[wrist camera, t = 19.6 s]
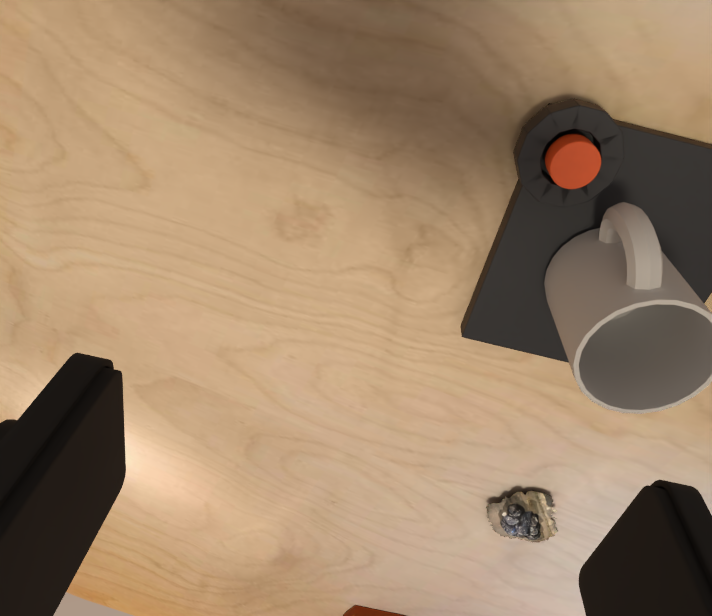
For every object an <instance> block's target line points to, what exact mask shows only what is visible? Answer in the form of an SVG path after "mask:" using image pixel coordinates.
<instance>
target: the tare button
mask: <svg viewBox="0 0 712 616" xmlns="http://www.w3.org/2000/svg"><path fill="white" fill-rule="evenodd" d="M545 165H546V169H547V171H548V172H549V174H550V176H551V178H552V179H553V181H554V182H555V183H556V184H557V185H558V186H560V187H562V188H565V189H577V188H581V187H583V186H585V185H587V184H589V183H590V182H591V181H592V180H593V179H594V178H595V177H596V176H597V174H598V172H599V170H600V167H601V155H600V153H599V151H598V149H597V148H596V147H595V146H594V145H593V143H592V142H591V141H590V140H589V139H588V138H586V137H585V136H583V135H580V134H567V135H564V136H562V137H560V138H558V139H557V140H555V141H554V142H553V143H552V144H551V145H550V147H549V148H548V150H547V153H546V156H545Z"/></svg>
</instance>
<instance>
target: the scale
mask: <svg viewBox="0 0 712 616" xmlns="http://www.w3.org/2000/svg"><path fill="white" fill-rule="evenodd" d="M567 134H580V135H583V136H585V137H586V138H588V139H589V140H590V141H591V142H592V143H593V145H594V146H595V147H596V148H597V149H598V151H599V153H600V155H601V167H600V170H599V172H598V174H597V176H596V177H595V178H594V179H593V180H592V181H591V182H590V183H589V184H587V185H585V186H583V187H581V188H577V189H565V188H562V187H560V186H558V185H557V184H556V183H555V182H554V181H553V179H552V178H551V176H550V174H549V172H548V171H547V169H546V165H545V156H546V153H547V150H548V148H549V147H550V145H551V144H552V143H553V142H554V141H555V140H557V139H558V138H560V137H562V136H564V135H567ZM514 158H515V164H516V170H517V175H518V177H519V180H518V182H517V185H516V187H515V190H514V192H513V195H512V197H511V200H510V202H509V205H508V208H507V210H506V213H505V215H504V218H503V220H502V223H501V225H500V228H499V230H498V233H497V235H496V238H495V240H494V243H493V246H492V248H491V251H490V253H489V256H488V258H487V261H486V263H485V266H484V268H483V271H482V273H481V276H480V278H479V281H478V283H477V286H476V289H475V291H474V294H473V296H472V299H471V301H470V304H469V306H468V309H467V311H466V314H465V316H464V319H463V321H462V324H461V333H462V337H464V338H468V339H472V340H477V341H481V342H485V343H489V344H493V345H498V346H502V347H506V348H510V349H514V350H518V351H523V352H527V353H531V354H535V355H539V356H544V357H548V358H552V359H556V360H560V361H564V362H569V361H568V358H567V355H566V352H565V349H564V347H563V344H562V341H561V338H560V336H559V333H558V330H557V327H556V324H555V322H554V319H553V316H552V313H551V310H550V308H549V305H548V302H547V298H546V292H545V286H544V281H545V275H546V270H547V268H548V266H549V264H550V262H551V260H552V258H553V257H554V256H555V254H556V253H557V252H558V251H559V250H560V248H561V247H562V246H564V245H565V244H566V243H568V242H569V241H570V240H572V239H573V238H574V237H576V236H578V235H580V234H583V233H585V232H587V231H589V230H593V229H598V228H600V227H601V222H602V219H603V216H604V214H605V212H606V210H607V209H608V208H610V207H612V206H614V205H616V204H618V203H622V202H625V203H629V204H632V205H635V206H637V207H639V208H640V209H642V210H643V212H644V213H645V214H646V215H647V216H648V218H649V220H650V222H651V224H652V225H653V227H654V230H655V232H656V235H657V238H658V241H659V244H660V247H661V251H662V252H663V253H664V254H665V256H666V257H667V258H668V259H669V261H670V262H671V263H672V264H673V266H674V267H675V268H676V269H677V271H678V272H679V273H680V274H681V276H682V277H683V278H684V279H685V281H686V282H687V283H688V284H689V286H690V287H691V288H692V289H693V291H694V292H695V293H696V294H697V296H698V297H699V298H700V299H701V301H702V302H703V303H705V301H706V300H707V298H708V297H709V296H710V294H711V293H712V145H711V144H707V143H703V142H699V141H695V140H691V139H687V138H684V137H680V136H676V135H672V134H668V133H664V132H660V131H656V130H652V129H648V128H644V127H640V126H636V125H633V124H629V123H625V122H621V121H617V120H613V119H612V118H611V117H610V116H609V114H608V113H607V112H606V111H605V110H603V109H602V108H601V107H600V106H598V105H596V104H592V103H589V102H585V101H581V100H577V99H569V100H566V101H562V102H559V103H555V104H550V103H549V104H548V106H546V107H544V108H542V109H541V110H540V111H539V112H538V113H537V114H536V115H535V116H534V117H533V118H531V119H530V120H529V121H528V122H527V123H526V124H525V125H524V126H523V127H522V130H521V133H520V135H519V138H518V140H517V143H516V146H515V148H514Z"/></svg>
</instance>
